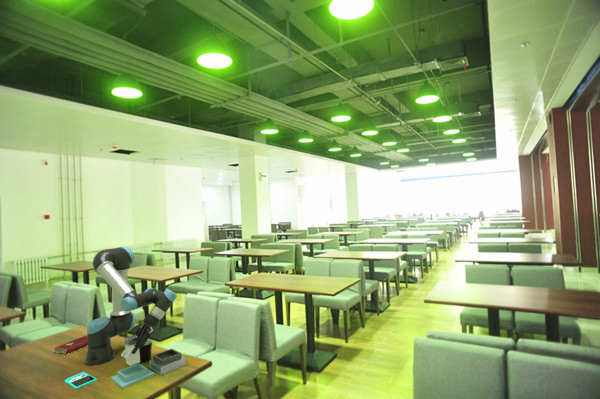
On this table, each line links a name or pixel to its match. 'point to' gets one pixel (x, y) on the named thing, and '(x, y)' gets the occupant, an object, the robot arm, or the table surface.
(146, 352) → the coffee mug
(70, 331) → the table surface
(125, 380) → the lower socket plate
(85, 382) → the handheld game console
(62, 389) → the table surface
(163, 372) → the upper socket stand
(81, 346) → the hardcover book
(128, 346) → the plug block
